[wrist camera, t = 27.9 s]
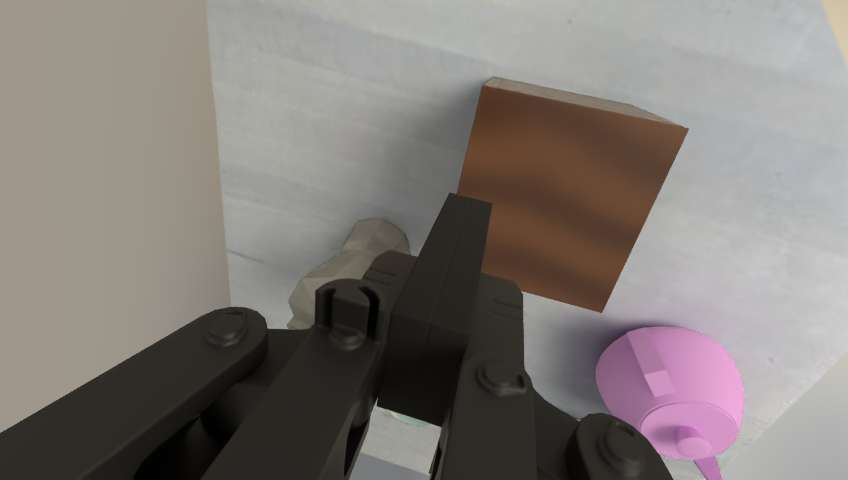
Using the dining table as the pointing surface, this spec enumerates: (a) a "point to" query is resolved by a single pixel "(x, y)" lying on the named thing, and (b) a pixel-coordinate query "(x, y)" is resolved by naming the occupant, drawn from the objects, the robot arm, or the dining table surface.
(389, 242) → the coffeepot
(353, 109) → the dining table surface
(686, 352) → the teapot
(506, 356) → the robot arm
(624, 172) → the lid
